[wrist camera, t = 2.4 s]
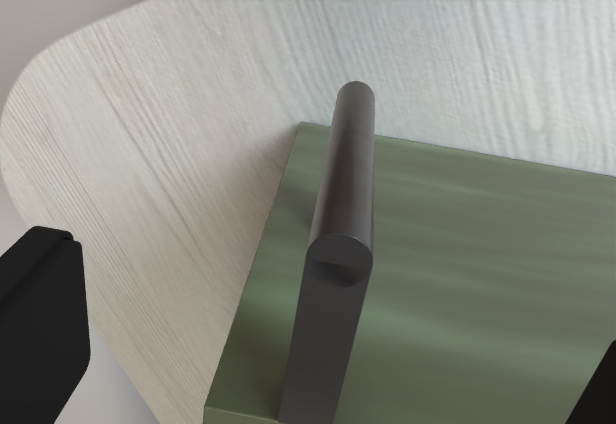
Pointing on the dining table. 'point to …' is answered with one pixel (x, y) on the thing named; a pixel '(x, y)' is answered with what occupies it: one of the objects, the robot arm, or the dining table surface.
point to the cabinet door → (419, 286)
